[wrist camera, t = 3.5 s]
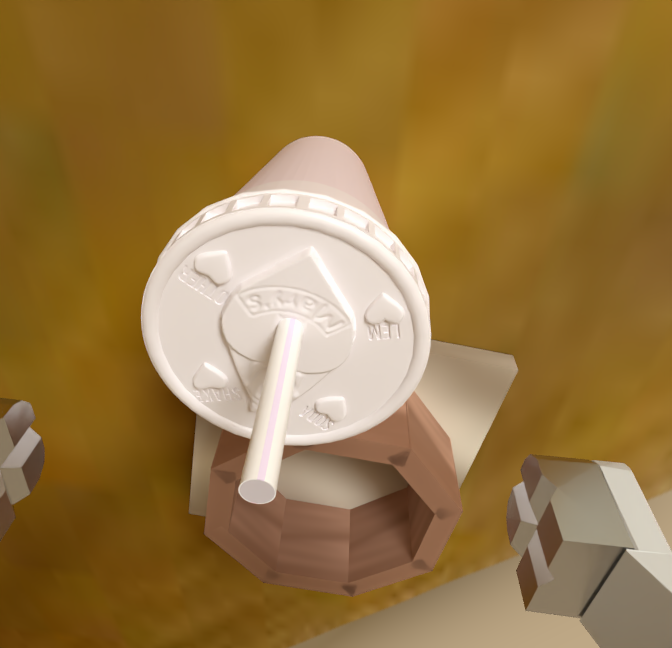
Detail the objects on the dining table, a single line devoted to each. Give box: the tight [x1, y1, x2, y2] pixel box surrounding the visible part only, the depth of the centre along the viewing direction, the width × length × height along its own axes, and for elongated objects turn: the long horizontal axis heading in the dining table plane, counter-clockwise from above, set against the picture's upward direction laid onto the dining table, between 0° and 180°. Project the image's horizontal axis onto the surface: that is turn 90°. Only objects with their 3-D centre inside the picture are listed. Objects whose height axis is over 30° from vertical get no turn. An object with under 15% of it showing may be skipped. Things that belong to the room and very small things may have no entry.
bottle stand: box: [189, 340, 518, 597], centre depth 25 cm, size 13×13×5 cm
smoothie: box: [141, 136, 431, 504], centre depth 14 cm, size 6×6×14 cm
